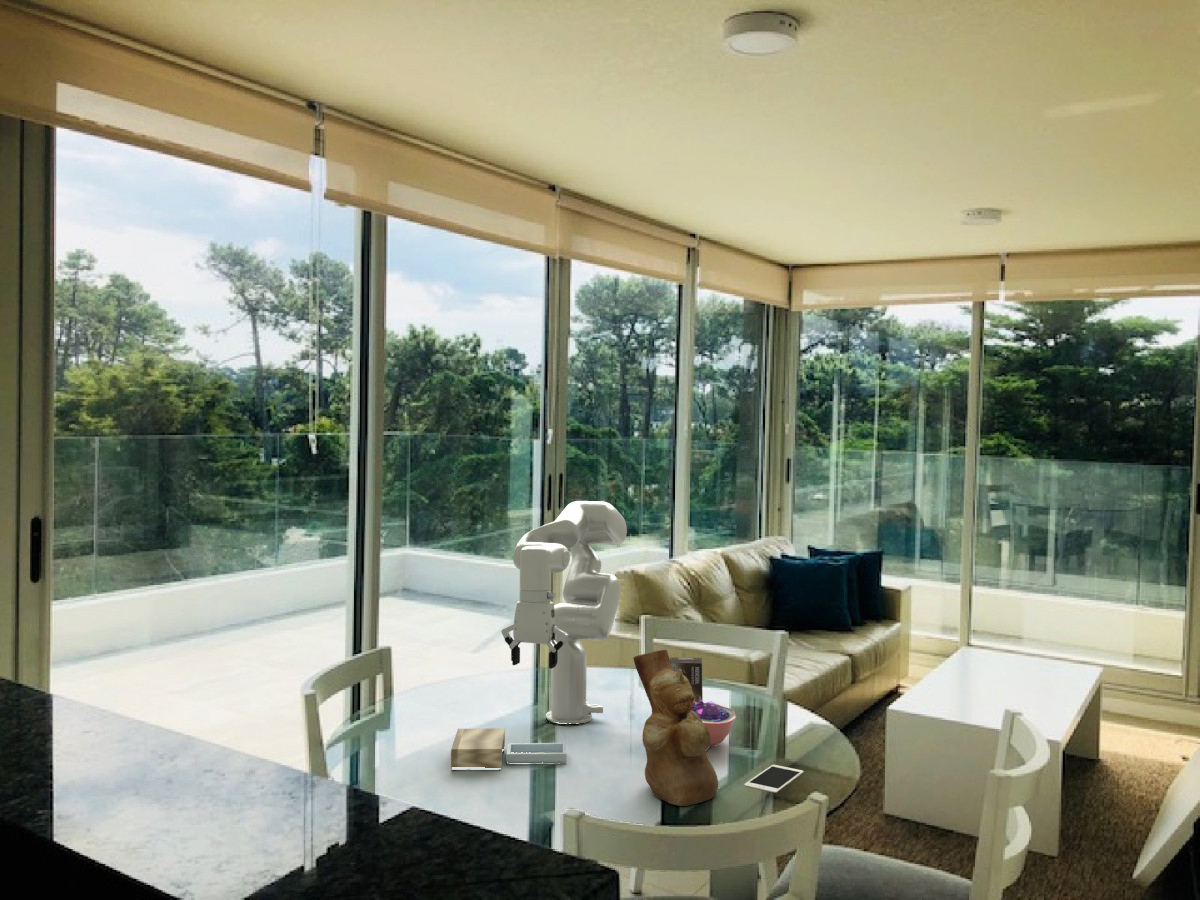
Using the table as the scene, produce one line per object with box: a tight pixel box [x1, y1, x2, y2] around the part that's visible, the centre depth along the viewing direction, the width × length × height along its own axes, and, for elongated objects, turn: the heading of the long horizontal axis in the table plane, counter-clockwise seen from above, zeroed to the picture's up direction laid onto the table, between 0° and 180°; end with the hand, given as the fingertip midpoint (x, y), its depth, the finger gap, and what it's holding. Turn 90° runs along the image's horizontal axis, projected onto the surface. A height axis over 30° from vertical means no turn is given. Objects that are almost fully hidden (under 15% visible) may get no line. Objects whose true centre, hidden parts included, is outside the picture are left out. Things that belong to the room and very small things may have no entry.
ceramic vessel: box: [632, 648, 719, 807], centre depth 214 cm, size 16×22×30 cm
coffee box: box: [669, 656, 704, 703], centre depth 268 cm, size 9×6×16 cm
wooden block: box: [450, 727, 506, 768], centre depth 234 cm, size 12×16×5 cm
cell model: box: [691, 700, 737, 748], centre depth 246 cm, size 17×20×11 cm
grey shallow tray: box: [505, 742, 567, 765], centre depth 234 cm, size 14×8×2 cm, turn 92°
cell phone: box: [743, 764, 805, 794], centre depth 222 cm, size 8×16×1 cm, turn 146°
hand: (534, 665), depth 242 cm, fingers open, 9 cm apart
